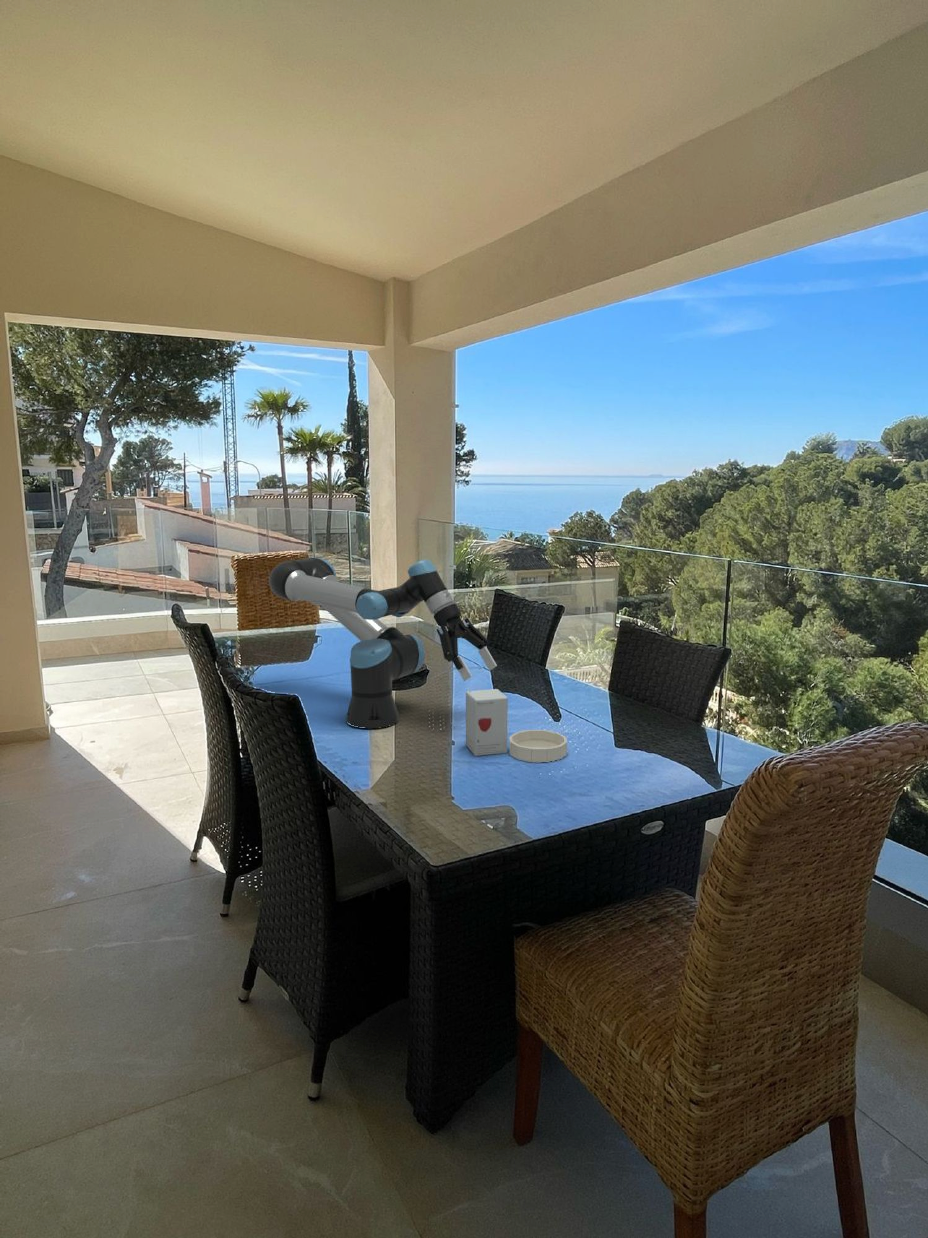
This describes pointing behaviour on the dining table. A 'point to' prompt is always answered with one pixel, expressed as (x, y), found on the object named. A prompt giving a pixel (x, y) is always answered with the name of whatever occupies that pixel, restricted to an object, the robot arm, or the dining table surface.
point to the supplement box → (486, 722)
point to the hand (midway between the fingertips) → (481, 673)
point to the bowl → (537, 746)
